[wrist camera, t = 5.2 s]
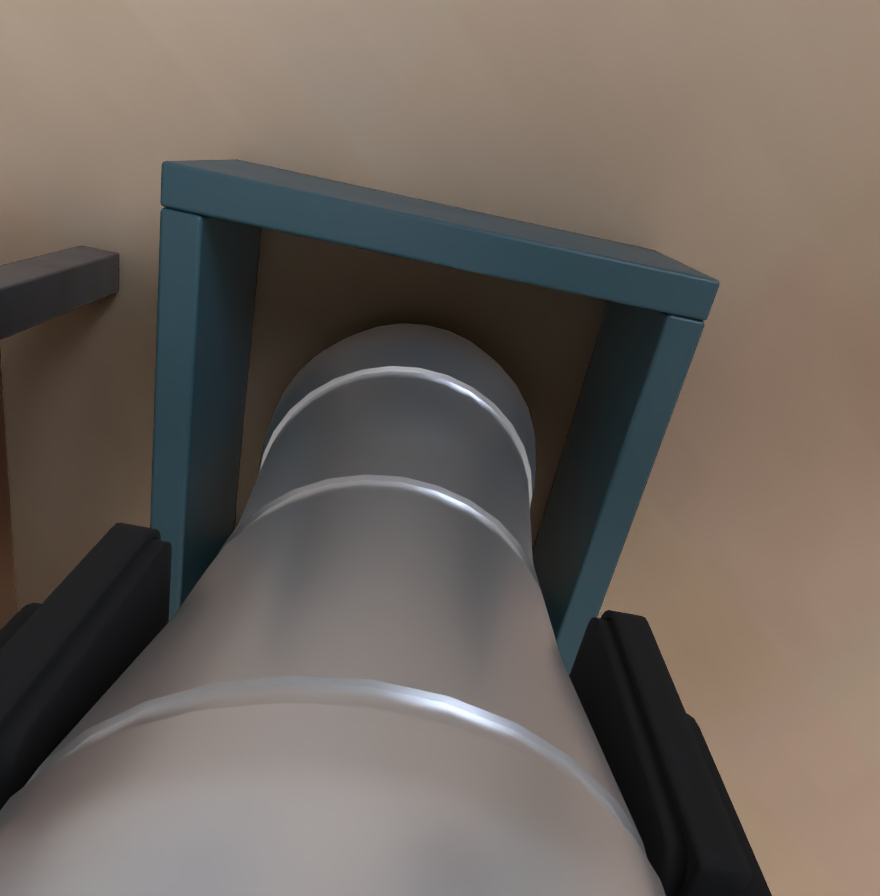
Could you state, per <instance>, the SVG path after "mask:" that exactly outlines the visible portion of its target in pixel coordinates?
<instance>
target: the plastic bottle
mask: <svg viewBox="0 0 880 896" xmlns="http://www.w3.org/2000/svg"><path fill="white" fill-rule="evenodd" d="M535 475H536V448H535V431H534V427H533V423H532V420H531V416H530V412H529V409H528V406H527V404H526V402H525V401H524V399H523V397H522V395H521V393H520V391H519V389H518V387H517V385H516V384H515V383H514V382H513V380H512V379H511V378H510V377H509V376H508V374H507V373H506V372H505V371H504V370H503V368H502V367H501V366H500V365H499V364H498V363H497V362H496V361H495V360H493V359H492V358H491V357H490V356H489V355H487V354H486V353H485V352H484V351H482V350H481V349H480V348H479V347H477V346H476V345H475V344H473V343H472V342H471V341H469V340H467V339H465V338H463V337H461V336H459V335H457V334H454V333H452V332H450V331H447V330H444V329H440V328H436V327H432V326H428V325H420V324H404V323H400V324H393V325H385V326H378V327H375V328H372V329H369V330H366V331H363V332H360V333H357V334H354V335H352V336H350V337H347V338H345V339H343V340H341V341H339V342H338V343H336V344H334V345H333V346H331V347H329V348H327V349H326V350H324V351H322V352H321V353H319V354H318V355H316V356H315V357H314V358H313V359H312V360H311V361H310V362H309V363H307V364H306V365H305V366H304V367H303V368H302V369H301V370H300V371H299V372H298V373H297V374H296V376H295V377H294V378H293V380H292V381H291V382H290V384H289V385H288V386H287V388H286V389H285V390H284V392H283V393H282V396H281V398H280V400H279V402H278V405H277V407H276V409H275V411H274V413H273V416H272V419H271V422H270V425H269V428H268V431H267V434H266V437H265V441H264V446H263V451H262V456H261V460H260V467H259V475H258V477H257V480H256V482H255V485H254V487H253V489H252V492H251V494H250V497H249V499H248V502H247V504H246V506H245V509H244V511H243V514H242V516H241V519H240V521H239V524H238V526H237V527H236V528H235V530H234V531H233V533H232V534H231V535H230V537H229V538H228V540H227V541H226V543H225V544H224V545H223V547H222V548H221V550H220V551H219V553H218V555H217V557H216V558H215V559H214V561H213V562H212V563H211V564H210V566H209V567H208V568H207V570H206V571H205V572H204V574H203V575H202V577H201V578H200V579H199V581H198V582H197V584H196V585H195V587H194V588H193V590H192V591H191V592H190V594H189V595H188V597H187V598H186V600H185V601H184V602H183V604H182V605H181V607H180V608H179V610H178V611H177V612H176V614H175V615H174V617H173V618H172V619H171V620H170V621H169V622H168V624H167V625H166V626H165V627H164V628H163V629H162V630H161V631H160V632H159V634H158V635H157V636H156V637H155V638H154V639H153V640H152V641H151V643H150V644H149V645H148V646H147V647H146V648H145V649H144V650H143V651H142V653H141V654H140V655H139V656H138V657H137V658H136V659H135V660H134V661H133V663H132V664H131V665H130V666H129V667H128V668H127V669H126V670H125V671H124V673H123V674H122V675H121V676H120V677H119V678H118V679H117V680H116V682H115V683H114V684H113V685H112V686H111V687H110V688H109V689H108V690H107V692H106V693H105V694H104V695H103V696H102V697H101V698H100V699H99V700H98V702H97V703H96V704H95V705H94V706H93V707H92V708H91V709H90V710H89V712H88V713H87V714H86V715H85V716H84V717H83V718H82V719H81V720H80V722H79V723H78V724H77V725H76V726H75V727H74V728H73V729H72V731H71V732H70V733H69V734H68V735H67V736H66V737H65V738H64V739H63V741H62V742H61V743H60V744H59V745H58V746H57V747H56V748H55V749H54V751H53V752H52V753H51V754H50V755H49V756H48V757H47V758H46V759H45V761H44V762H43V763H42V764H41V765H40V766H39V768H38V769H37V770H36V772H35V773H34V774H33V775H32V777H31V778H30V779H29V781H28V782H27V783H26V785H25V786H24V787H23V788H22V789H20V790H19V791H18V792H17V793H15V794H14V795H13V796H11V797H10V798H9V800H8V801H7V802H6V804H5V805H4V806H3V808H2V809H1V810H0V896H666V894H665V892H664V889H663V886H662V883H661V880H660V878H659V877H658V875H657V874H656V872H655V870H654V869H653V867H652V866H651V864H650V862H649V861H648V859H647V855H646V852H645V848H644V844H643V842H642V839H641V837H640V835H639V833H638V830H637V828H636V826H635V824H634V821H633V819H632V817H631V815H630V812H629V810H628V808H627V806H626V803H625V801H624V799H623V797H622V794H621V792H620V790H619V788H618V785H617V783H616V781H615V779H614V776H613V774H612V772H611V770H610V767H609V765H608V763H607V761H606V758H605V756H604V754H603V752H602V749H601V747H600V745H599V743H598V740H597V738H596V736H595V734H594V731H593V729H592V727H591V725H590V722H589V720H588V718H587V716H586V713H585V711H584V709H583V707H582V704H581V702H580V700H579V698H578V695H577V693H576V691H575V689H574V686H573V684H572V682H571V680H570V677H569V675H568V673H567V671H566V668H565V666H564V664H563V662H562V659H561V656H560V653H559V649H558V646H557V642H556V639H555V636H554V632H553V629H552V626H551V622H550V619H549V615H548V612H547V609H546V605H545V602H544V598H543V595H542V592H541V588H540V585H539V582H538V578H537V575H536V571H535V568H534V565H533V555H532V538H531V521H530V507H531V502H532V497H533V491H534V485H535Z"/></svg>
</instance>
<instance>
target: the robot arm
mask: <svg viewBox="0 0 880 896" xmlns="http://www.w3.org/2000/svg"><path fill="white" fill-rule="evenodd" d="M171 559H172V546H171V543H170V542H168V541H162V540H161V535H160V532H159V531H158V530H157V529H152V528H146V527H141V526H135V525H130V524H124V523H116V524H115V525H114V526H113V527H112V528H111V529H110V530H109V531H108V532H107V533H106V534H105V535H104V536H103V538H102V539H101V540H100V541H99V542H98V543H97V544H96V545H95V546H94V547H93V549H92V550H91V551H90V552H89V553H88V554H87V555H86V556H85V557H84V558H83V560H82V561H81V562H80V563H79V564H78V565H77V566H76V567H75V568H74V569H73V571H72V572H71V573H70V574H69V575H68V576H67V577H66V578H65V579H64V580H63V582H62V583H61V584H60V585H59V586H58V587H57V588H56V589H55V590H54V591H53V592H52V594H51V595H50V596H49V597H48V598H47V599H46V600H45V601H44V602H43V603H42V604H37V603H32V604H29V605H26V606H25V607H24V608H22V609H21V610H20V611H19V612H18V613H16V615H15V616H14V617H13V618H12V619H11V620H10V621H9V622H8V623H7V624H6V625H5V626H4V627H3V628H2V629H1V630H0V810H1V809H2V808H3V806H4V805H5V804H6V802H7V801H8V800H9V798H10V797H11V796H13V795H14V794H15V793H17V792H18V791H19V790H20V789H22V788H23V787H24V786H25V785H26V783H27V782H28V781H29V779H30V778H31V777H32V775H33V774H34V773H35V772H36V770H37V769H38V768H39V766H40V765H41V764H42V763H43V762H44V761H45V759H46V758H47V757H48V756H49V755H50V754H51V753H52V752H53V751H54V749H55V748H56V747H57V746H58V745H59V744H60V743H61V742H62V741H63V739H64V738H65V737H66V736H67V735H68V734H69V733H70V732H71V731H72V729H73V728H74V727H75V726H76V725H77V724H78V723H79V722H80V720H81V719H82V718H83V717H84V716H85V715H86V714H87V713H88V712H89V710H90V709H91V708H92V707H93V706H94V705H95V704H96V703H97V702H98V700H99V699H100V698H101V697H102V696H103V695H104V694H105V693H106V692H107V690H108V689H109V688H110V687H111V686H112V685H113V684H114V683H115V682H116V680H117V679H118V678H119V677H120V676H121V675H122V674H123V673H124V671H125V670H126V669H127V668H128V667H129V666H130V665H131V664H132V663H133V661H134V660H135V659H136V658H137V657H138V656H139V655H140V654H141V653H142V651H143V650H144V649H145V648H146V647H147V646H148V645H149V644H150V643H151V641H152V640H153V639H154V638H155V637H156V636H157V635H158V634H159V632H160V631H161V630H162V629H163V628H164V627H165V626H166V625H167V624H168V621H169V600H170V580H171ZM569 677H570V680H571V682H572V684H573V686H574V689H575V691H576V693H577V695H578V698H579V700H580V702H581V704H582V707H583V709H584V711H585V713H586V716H587V718H588V720H589V722H590V725H591V727H592V729H593V731H594V734H595V736H596V738H597V740H598V743H599V745H600V747H601V749H602V752H603V754H604V756H605V758H606V761H607V763H608V765H609V767H610V770H611V772H612V774H613V776H614V779H615V781H616V783H617V785H618V788H619V790H620V792H621V794H622V797H623V799H624V801H625V803H626V806H627V808H628V810H629V812H630V815H631V817H632V819H633V821H634V824H635V826H636V828H637V830H638V833H639V835H640V837H641V839H642V842H643V844H644V848H645V852H646V855H647V859H648V861H649V862H650V864H651V866H652V867H653V869H654V870H655V872H656V874H657V875H658V877H659V878H660V880H661V883H662V886H663V889H664V892H665V894H666V896H772V895H771V892H770V890H769V888H768V886H767V883H766V881H765V879H764V876H763V874H762V872H761V869H760V867H759V865H758V862H757V860H756V858H755V855H754V853H753V851H752V848H751V846H750V844H749V841H748V839H747V837H746V834H745V832H744V830H743V828H742V825H741V823H740V821H739V818H738V816H737V814H736V811H735V809H734V807H733V804H732V802H731V800H730V797H729V795H728V793H727V790H726V788H725V786H724V783H723V781H722V779H721V776H720V774H719V772H718V770H717V767H716V765H715V763H714V760H713V758H712V756H711V753H710V751H709V749H708V746H707V744H706V742H705V739H704V737H703V735H702V732H701V730H700V728H699V726H698V724H697V723H696V721H695V719H694V718H693V717H691V716H690V715H689V714H686V712H685V710H684V707H683V705H682V703H681V700H680V698H679V695H678V693H677V691H676V688H675V686H674V683H673V681H672V679H671V676H670V674H669V671H668V669H667V667H666V664H665V662H664V660H663V657H662V655H661V652H660V650H659V648H658V645H657V643H656V640H655V638H654V636H653V633H652V631H651V628H650V626H649V624H648V622H647V620H646V618H644V617H643V616H638V615H633V614H627V613H621V612H616V611H610V610H608V611H605V612H604V613H603V615H602V617H601V618H595V617H594V618H591V620H590V621H589V623H588V625H587V628H586V631H585V634H584V636H583V639H582V642H581V645H580V647H579V650H578V653H577V656H576V658H575V661H574V664H573V667H572V670H571V672H570V675H569Z"/></svg>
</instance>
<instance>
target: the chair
mask: <svg viewBox="0 0 880 896" xmlns="http://www.w3.org/2000/svg"><path fill="white" fill-rule="evenodd" d="M118 290H119V254H118V253H115V252H110V251H105V250H100V249H95V248H90V247H85V246H78V247H74V248H70V249H65V250H61V251H57V252H53V253H49V254H45V255H41V256H37V257H33V258H29V259H25V260H21V261H17V262H13V263H9V264H5V265H0V340H1V339H4V338H6V337H8V336H11V335H13V334H16V333H18V332H21V331H23V330H26V329H28V328H30V327H33V326H35V325H38V324H40V323H43V322H45V321H47V320H50V319H52V318H55V317H57V316H60V315H62V314H64V313H67V312H69V311H72V310H74V309H77V308H79V307H81V306H84V305H86V304H89V303H91V302H94V301H96V300H99V299H101V298H103V297H106V296H108V295H111V294H113V293H116V292H118ZM16 613H17V603H16V588H15V572H14V556H13V540H12V525H11V509H10V493H9V477H8V462H7V446H6V430H5V414H4V399H3V383H2V367H1V351H0V630H1V629H2V628H3V627H4V626H5V625H6V624H7V623H8V622H9V621H10V620H11V619H12V618H13V617H14V616H15V615H16Z"/></svg>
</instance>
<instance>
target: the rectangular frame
mask: <svg viewBox="0 0 880 896" xmlns="http://www.w3.org/2000/svg"><path fill="white" fill-rule="evenodd" d="M161 205H162V206H164V207H166V208H162V210H161V217H160V247H159V277H158V307H157V338H156V368H155V398H154V429H153V459H152V489H151V520H150V528H152V529H157V530H158V531H159V532H160V535H161V540H162V541H168V542H170V543H171V546H172V559H171V580H170V600H169V621H170V620H171V619H172V618H173V617H174V615H175V614H176V612H177V611H178V610H179V608H180V607H181V605H182V604H183V602H184V601H185V600H186V598H187V597H188V595H189V594H190V592H191V591H192V590H193V588H194V587H195V585H196V584H197V582H198V581H199V579H200V578H201V577H202V575H203V574H204V572H205V571H206V570H207V568H208V567H209V566H210V564H211V563H212V562H213V561H214V559H215V558H216V557H217V555H218V553H219V551H220V550H221V548H222V547H223V545H224V544H225V543H226V541H227V540H228V538H229V537H230V535H231V534H232V533H233V529H234V518H235V507H236V496H237V486H238V475H239V464H240V453H241V442H242V431H243V420H244V409H245V398H246V387H247V376H248V365H249V354H250V343H251V332H252V321H253V310H254V299H255V288H256V277H257V266H258V255H259V244H260V233H261V228H265V229H270V230H275V231H280V232H284V233H289V234H294V235H299V236H303V237H308V238H313V239H318V240H322V241H327V242H332V243H337V244H341V245H346V246H351V247H356V248H360V249H365V250H370V251H374V252H379V253H384V254H389V255H393V256H398V257H403V258H408V259H412V260H417V261H422V262H427V263H431V264H436V265H441V266H446V267H450V268H455V269H460V270H465V271H469V272H474V273H479V274H483V275H488V276H493V277H498V278H502V279H507V280H512V281H517V282H521V283H526V284H531V285H536V286H540V287H545V288H550V289H555V290H559V291H564V292H569V293H574V294H578V295H583V296H588V297H592V298H597V299H602V300H607V301H609V303H608V306H607V309H606V313H605V316H604V319H603V322H602V326H601V329H600V332H599V336H598V339H597V342H596V345H595V349H594V352H593V355H592V359H591V362H590V365H589V368H588V372H587V375H586V378H585V382H584V385H583V388H582V391H581V395H580V398H579V401H578V405H577V408H576V411H575V414H574V418H573V421H572V424H571V428H570V431H569V434H568V437H567V441H566V444H565V447H564V451H563V454H562V457H561V460H560V464H559V467H558V470H557V473H556V477H555V480H554V483H553V487H552V490H551V493H550V496H549V500H548V503H547V506H546V510H545V513H544V516H543V519H542V523H541V526H540V529H539V533H538V536H537V539H536V542H535V546H534V549H533V552H532V555H533V565H534V568H535V571H536V575H537V578H538V582H539V585H540V588H541V592H542V595H543V598H544V602H545V605H546V609H547V612H548V615H549V619H550V622H551V626H552V629H553V632H554V636H555V639H556V642H557V646H558V649H559V653H560V656H561V659H562V662H563V664H564V666H565V668H566V671H567V673H568V675H570V672H571V670H572V667H573V664H574V661H575V658H576V656H577V653H578V650H579V647H580V645H581V642H582V639H583V636H584V634H585V631H586V628H587V625H588V623H589V621H590V620H591V618H594V617H595V618H597V616H598V614H599V611H600V608H601V606H602V603H603V600H604V597H605V595H606V592H607V589H608V586H609V584H610V581H611V578H612V576H613V573H614V570H615V567H616V565H617V562H618V559H619V557H620V554H621V551H622V548H623V546H624V543H625V540H626V537H627V535H628V532H629V529H630V527H631V524H632V521H633V518H634V516H635V513H636V510H637V507H638V505H639V502H640V499H641V497H642V494H643V491H644V488H645V486H646V483H647V480H648V478H649V475H650V472H651V469H652V467H653V464H654V461H655V458H656V456H657V453H658V450H659V448H660V445H661V442H662V439H663V437H664V434H665V431H666V429H667V426H668V423H669V420H670V418H671V415H672V412H673V409H674V407H675V404H676V401H677V399H678V396H679V393H680V390H681V388H682V385H683V382H684V379H685V377H686V374H687V371H688V369H689V366H690V363H691V360H692V358H693V355H694V352H695V350H696V347H697V344H698V341H699V339H700V336H701V333H702V330H703V328H704V322H703V320H706V319H707V317H708V315H709V312H710V309H711V306H712V304H713V301H714V298H715V296H716V293H717V290H718V287H719V281H718V280H716V279H714V278H712V277H710V276H708V275H705V274H703V273H701V272H699V271H697V270H695V269H693V268H691V267H688V266H686V265H684V264H682V263H680V262H678V261H676V260H674V259H672V258H669V257H667V256H665V255H663V254H661V253H659V252H657V251H655V250H651V249H646V248H642V247H637V246H632V245H628V244H623V243H619V242H614V241H609V240H605V239H600V238H595V237H591V236H586V235H582V234H577V233H572V232H568V231H563V230H559V229H554V228H549V227H545V226H540V225H536V224H531V223H526V222H522V221H517V220H513V219H508V218H503V217H499V216H494V215H490V214H485V213H480V212H476V211H471V210H467V209H462V208H457V207H453V206H448V205H444V204H439V203H434V202H430V201H425V200H421V199H416V198H411V197H407V196H402V195H398V194H393V193H388V192H384V191H379V190H375V189H370V188H365V187H361V186H356V185H352V184H347V183H342V182H338V181H333V180H329V179H324V178H319V177H315V176H310V175H305V174H301V173H296V172H292V171H287V170H282V169H278V168H273V167H269V166H264V165H259V164H255V163H250V162H246V161H241V160H198V161H165V162H163V163H162V174H161ZM169 621H168V622H169Z"/></svg>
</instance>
